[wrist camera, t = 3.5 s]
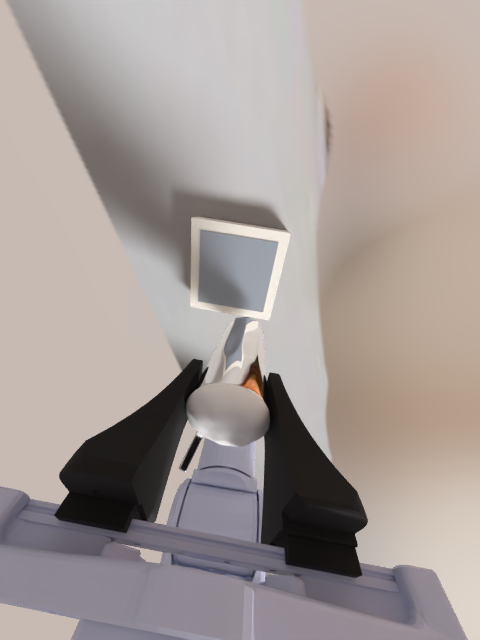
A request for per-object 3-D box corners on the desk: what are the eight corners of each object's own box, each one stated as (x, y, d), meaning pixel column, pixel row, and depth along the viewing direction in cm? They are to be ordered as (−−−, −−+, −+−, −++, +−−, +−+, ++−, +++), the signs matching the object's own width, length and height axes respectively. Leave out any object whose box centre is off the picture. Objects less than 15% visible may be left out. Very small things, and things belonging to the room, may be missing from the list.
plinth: (268, 309, 21) (269, 320, 19) (197, 297, 21) (190, 307, 19) (287, 230, 17) (291, 233, 15) (200, 216, 17) (190, 217, 15)
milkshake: (204, 334, 18) (144, 450, 10) (244, 299, 16) (211, 411, 7) (239, 363, 19) (213, 488, 11) (281, 334, 17) (291, 466, 8)
